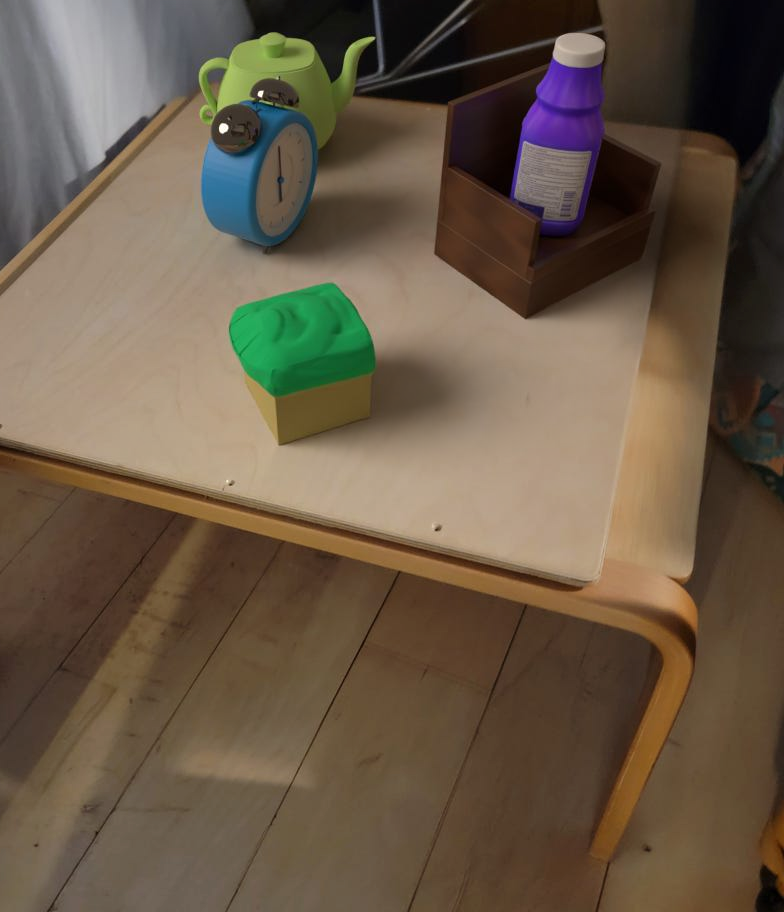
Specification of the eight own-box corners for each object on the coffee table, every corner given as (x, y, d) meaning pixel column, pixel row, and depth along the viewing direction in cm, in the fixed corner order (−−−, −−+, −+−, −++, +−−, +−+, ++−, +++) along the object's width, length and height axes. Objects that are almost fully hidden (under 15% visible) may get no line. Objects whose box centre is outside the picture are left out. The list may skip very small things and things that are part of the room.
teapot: (296, 101, 115) (292, -4, 106) (373, 141, 108) (377, 32, 98) (193, 145, 108) (179, 37, 99) (268, 191, 101) (260, 79, 91)
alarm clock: (256, 273, 91) (244, 131, 80) (205, 256, 93) (187, 116, 82) (321, 208, 98) (318, 71, 87) (272, 194, 100) (264, 59, 89)
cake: (224, 382, 80) (212, 290, 73) (335, 350, 82) (335, 257, 75) (262, 457, 74) (254, 365, 66) (381, 420, 76) (386, 327, 69)
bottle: (586, 213, 89) (627, 32, 76) (578, 245, 85) (620, 61, 73) (511, 201, 91) (540, 22, 78) (501, 232, 87) (529, 50, 74)
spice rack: (642, 258, 91) (687, 103, 79) (524, 319, 85) (555, 162, 73) (547, 201, 98) (576, 52, 86) (433, 254, 92) (447, 101, 80)
